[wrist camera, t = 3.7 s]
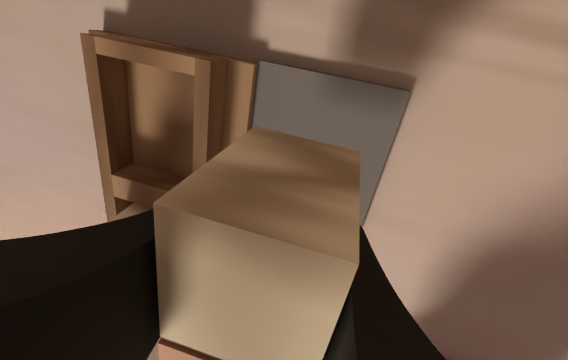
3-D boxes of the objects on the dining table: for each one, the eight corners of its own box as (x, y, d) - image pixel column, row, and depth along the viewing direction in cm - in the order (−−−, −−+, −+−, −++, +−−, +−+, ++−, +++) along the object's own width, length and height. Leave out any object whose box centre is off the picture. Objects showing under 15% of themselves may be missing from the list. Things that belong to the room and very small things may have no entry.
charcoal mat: (409, 90, 15) (410, 92, 14) (358, 230, 19) (358, 235, 18) (260, 59, 16) (257, 60, 15) (244, 198, 20) (241, 201, 19)
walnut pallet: (260, 63, 16) (239, 67, 13) (233, 283, 24) (217, 313, 21) (102, 30, 17) (55, 27, 14) (127, 249, 25) (99, 273, 22)
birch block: (360, 151, 10) (359, 268, 5) (325, 265, 13) (298, 424, 7) (254, 126, 11) (149, 205, 5) (240, 239, 13) (159, 370, 8)
